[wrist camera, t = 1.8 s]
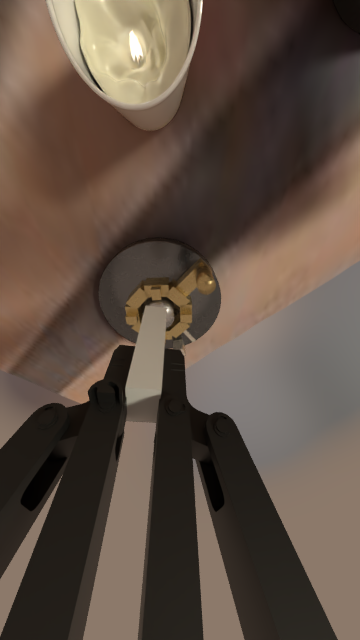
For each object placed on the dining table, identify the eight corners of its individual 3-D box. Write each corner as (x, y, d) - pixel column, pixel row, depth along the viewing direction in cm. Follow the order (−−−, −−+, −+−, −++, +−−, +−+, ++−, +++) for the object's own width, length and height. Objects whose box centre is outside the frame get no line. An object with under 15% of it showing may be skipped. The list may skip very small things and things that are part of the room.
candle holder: (108, 134, 24) (60, 99, 14) (95, -7, 18) (2, -228, 8) (185, 144, 25) (192, 118, 15) (196, 12, 19) (219, -173, 9)
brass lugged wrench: (163, 338, 39) (161, 365, 33) (117, 307, 35) (106, 332, 29) (228, 283, 32) (239, 305, 26) (181, 235, 28) (182, 249, 22)
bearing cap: (152, 205, 28) (147, 210, 23) (241, 294, 37) (252, 314, 32) (82, 299, 37) (65, 320, 32) (167, 353, 46) (165, 377, 41)
